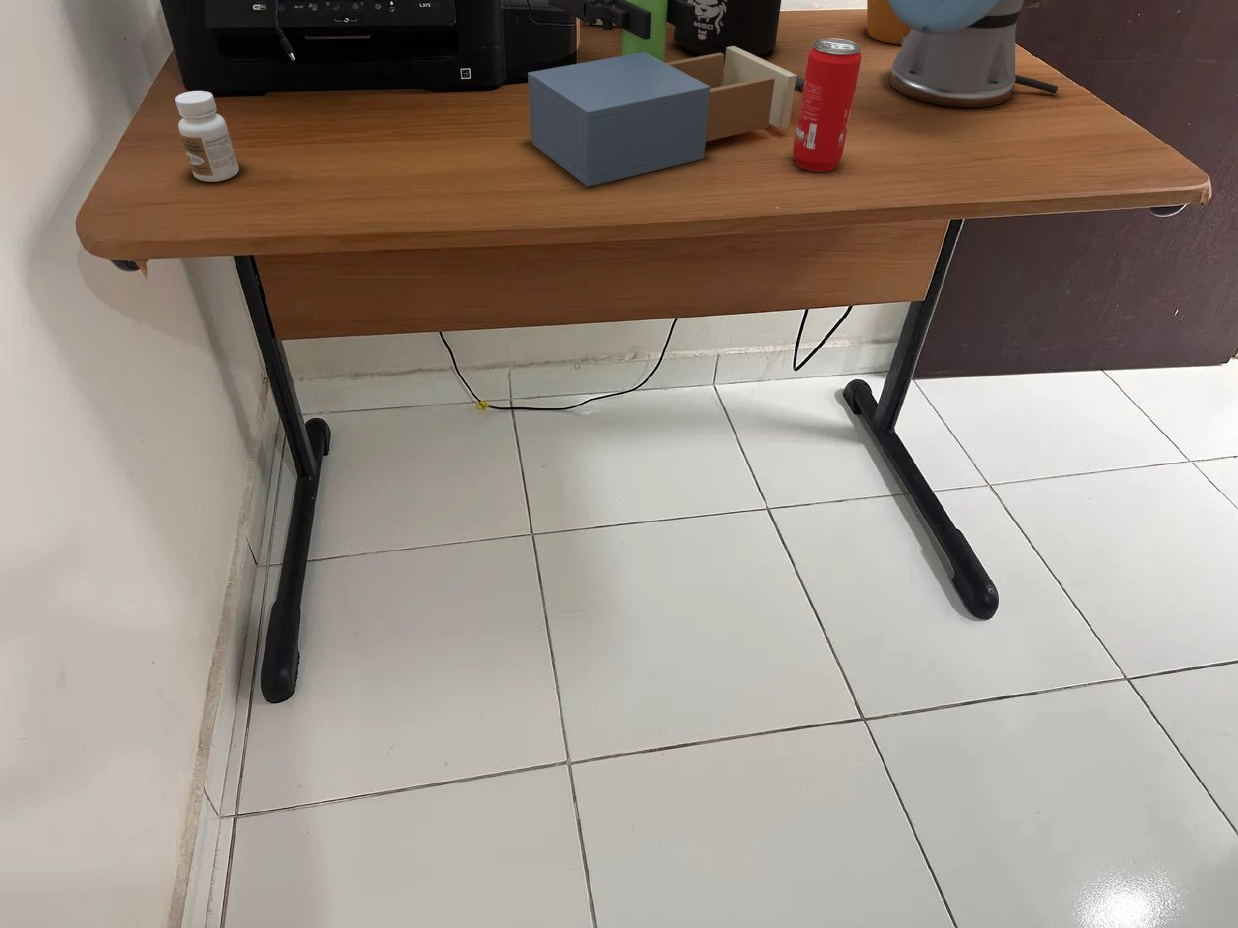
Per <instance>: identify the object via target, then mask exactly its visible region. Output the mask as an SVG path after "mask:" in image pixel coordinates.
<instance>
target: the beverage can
mask: <svg viewBox="0 0 1238 928" xmlns="http://www.w3.org/2000/svg"><path fill="white" fill-rule="evenodd" d="M861 50H862V47H861V45H860V44H859V43H857V42H855V41H852V40H849V39H843V38H832V37H831V38H821V39H817V40H815V41H813V42H812V47H811V49H810V50H809V51H808V56H807V60H806V61H807V62H806V67H805V73H804V74H805V75H804V79H805V80H804V86H803V92H802V93H801V100H800V106H799V110H798V111H799V112H798V119H797V125H796V131H795V136H794V144H793V150H792V154H793V156H794V160H795V161H794V163H795V166H797V167H798V168H800V169H802V170H804V171H807V172H810V173H811V172H812V173H827V172H831V171H834V170H835V169H836V168H837V165H838V163H839V162H840V161H841V159H842V157H843V153H844V148H845V144H846V138H847V133H848V128H849V123H850V118H851V114H852V108H853V102H854V97H855V94H856V87H857V82H858V78H859V73H860V67H861V64H862V63H861V62H862V53H861Z"/></svg>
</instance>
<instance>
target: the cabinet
mask: <svg viewBox="0 0 1238 928" xmlns="http://www.w3.org/2000/svg"><path fill="white" fill-rule="evenodd" d="M666 63H667V62H666V61H665V62H663V61H661V60H659V59H657V58H655V57H653V56H651V55H649V54H648V53H646V52H641V53H635V54H630V55H624V56H621V55H619V56H613V57H608V58H603V59H596V60H591V61H586V62H585V61H584V62H579V63H574V64H569V65H563V66H557V67H552V68H547V69H546V68H545V69H541V70H536V71H535V70H534V71H529V72H527V80H528V102H529V121H530V124H529V125H530V137H531V138H530V139H531V140H530V141H531V145H533V146H534V147H535V148H536V149H538V150H539V151H541V152H542V153H543V154H544V155H545V156H547V157H548V158H550V159H551V160H553V162H554V163H556V164H557V165H559V166H560V167H561V168H562V169H564V170H565V171H566V172H568V173H569V174H570V175H572V176H573V177H574V178H575V179H577V180H578V181H579V182H581V183H582V185H584V186H586V187H587V188H589V187H593V186H598V185H603V184H606V183H610V182H614V181H618V180H622V179H627V178H631V177H635V176H640V175H642V174H647V173H651V172H655V171H659V170H662V169H667V168H671V167H675V166H679V165H683V164H688V163H691V162H695V161H699V160H704V159H705V151H706V143H707V142H706V132H707V120H708V109H709V98H710V95H709V94H710V86H708V85H706V84H704V83H702V82H700V81H699V80H697V79H695V78H693V77H691V76H689V75H687V74H685V73H683V72H682V71H680V70H678V69H676V68H674V67H672V66H670V65H668V64H666Z"/></svg>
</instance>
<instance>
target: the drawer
mask: <svg viewBox="0 0 1238 928" xmlns="http://www.w3.org/2000/svg"><path fill="white" fill-rule="evenodd" d="M665 63H666V64H668V65H670V66H672V67H674V68H676V69H678V70H680V71H682V72H683V73H685V74H687V75H689V76H691V77H693V78H695V79H697V80H699V81H700V82H702V83H704V84H706V85H708V86H710V94H709V95H710V98H709V109H708V120H707V132H706V143H707V142H711V141H715V140H719V139H723V138H728V137H733V136H736V135H740V134H744V133H745V134H746V133H749V132H753V131H757V130H762V129H767V128H769V125H772V126H774V127H776V128H777V129H778V130H785V129H788V128H790V123H791V117H792V109H793V104H794V103H793V102H794V96H795V92H796V91H797V92H798V93H801V94H802V92H803V86H804V80H805V78H802V77H800V76H799V75H797V74H795V73H793V72H791V71H789V70H787V69H785V68H783V67H781V66H778V65H776V64H774V63H772V62H771V61H767V60H766V59H763V58H762V57H757V56H755V55H753V54H750V53H748V52H746V51H744V50H742V49H740V48H738V47H735V46H731V47H726V56H725V60H724V54H722V53H716V54H710V55H705V56H695V57H689V58H683V59H678V60H674V61H668V62H665Z"/></svg>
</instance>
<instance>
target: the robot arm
mask: <svg viewBox="0 0 1238 928" xmlns="http://www.w3.org/2000/svg"><path fill="white" fill-rule="evenodd" d="M1024 1H1025V0H888V3H889V5H890V7H891V9H892V10H893V12H894V13H895V15H896V16H897V17H898V18H899V19H900V20H901V21H902V22H903V23H904V24H906V25H907V26H908V27H910V28H912V29H911V31H910V32H909V34H908V36H907V37H905V36H903V39H902V44H900V46H901V47H900V49H899V50H898V52H897V54H896V56H895V58H894V60H893V61H892V64H891V68H890V72H889V77H888V83H889V84H890V86H891V87H892V88H893V89H894V90H896V91H897V92H899V93H901V94H902V95H904V96H907V97H909V98H912V99H914V100H918V101H921V102H925V103H929V104H933V105H939V106H945V107H954V108H983V107H991V106H995V105H999V104H1001V103H1004V102H1006V101H1007V100H1008V99H1010V97H1011V95H1012V92H1013V89H1014V85H1015V84H1018V85H1021V86H1026V87H1029V88H1033V89H1036V90H1041V91H1044V92H1047V93H1051V94H1053V95H1054V94H1056V93H1057V92H1058V90H1059V86H1058V85H1055V84H1051V83H1048V82H1045V81H1041V80H1039V79H1038V80H1037V79H1034V78H1029V77H1026V76H1022V75H1018V74H1016V27H1017V24H1018V21H1019V17H1020V14H1021V10H1022V8H1023V4H1024ZM547 5H548V6H551V7H553V8H554V7H555V8H559V9H561V10H562V11H564V12H566V13H567V14H570V15H571V16H574V17H575V18H577V19H578V20H580V21H582V22H583V23H585V24H586V23H587V24H590V25H589V26H592V25H593V24H596V23H597V19H600V20H601V21H602V22H603V25H602V30H603V31H613V30H614V29H613V28H614V26H613V23H614V24H615V25H617V26H616V27H618V28H620V29H621V30H622V29H624V30H626V31H628V32H630V33H632V34H634V35H636V36H638V37H640V38H642V39H644V40H647V39H650V34H651V12H649V11H647V10H645V9H643V8H641V7H638V6H636V5H634V4H632V3H630V2H628V1H626V0H547ZM694 19H695V5H693V4H690V3H688V2H686V1H684V0H668V7H667V24H669V25H671V26H674V27H675V26H676V27H678V28H680V29H682V30H684V31H686V32H694ZM593 26H594V25H593Z"/></svg>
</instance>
